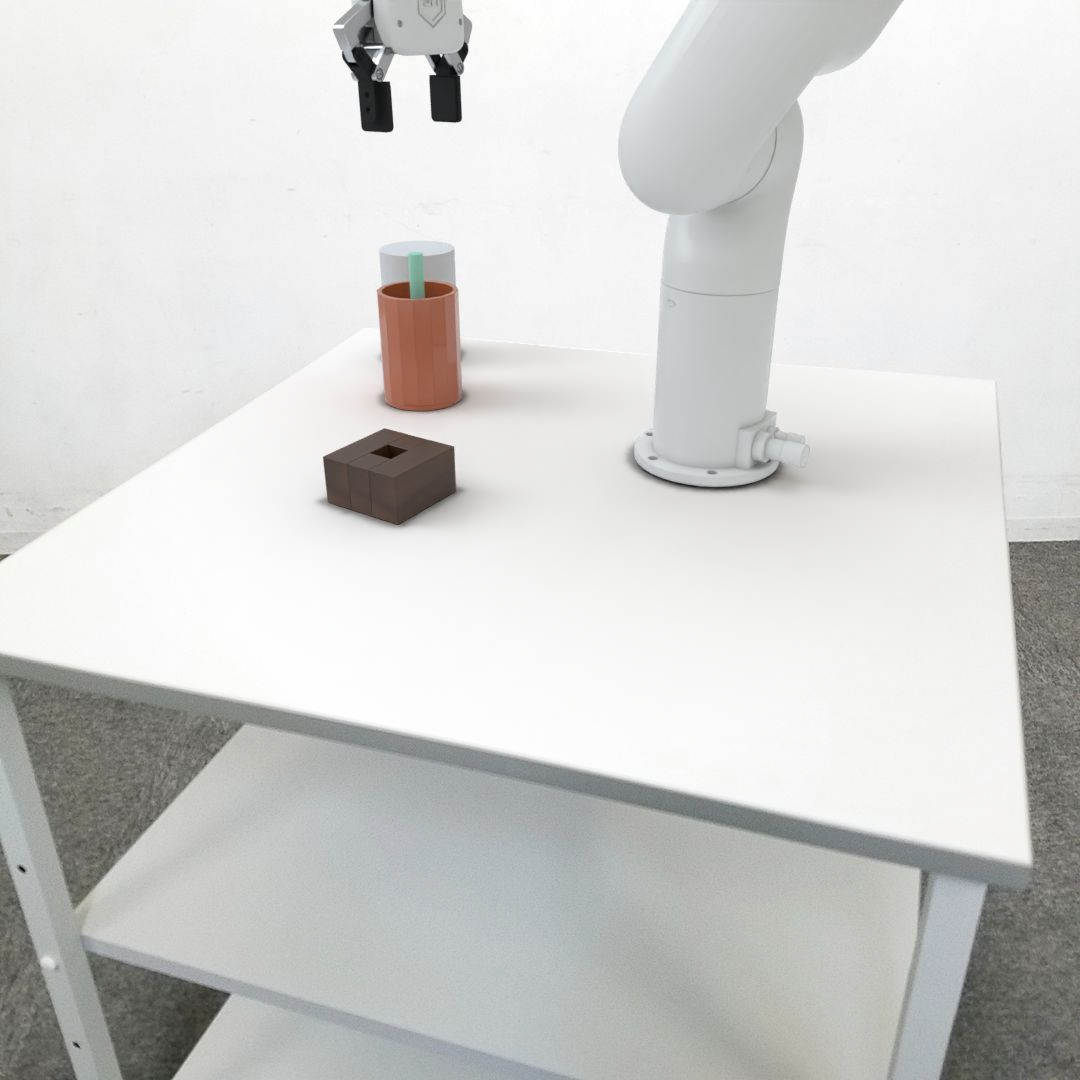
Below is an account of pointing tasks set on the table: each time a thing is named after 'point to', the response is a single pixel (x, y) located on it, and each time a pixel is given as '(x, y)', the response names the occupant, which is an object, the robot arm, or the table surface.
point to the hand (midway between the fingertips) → (413, 126)
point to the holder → (390, 475)
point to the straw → (416, 275)
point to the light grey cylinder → (434, 261)
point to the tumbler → (420, 346)
